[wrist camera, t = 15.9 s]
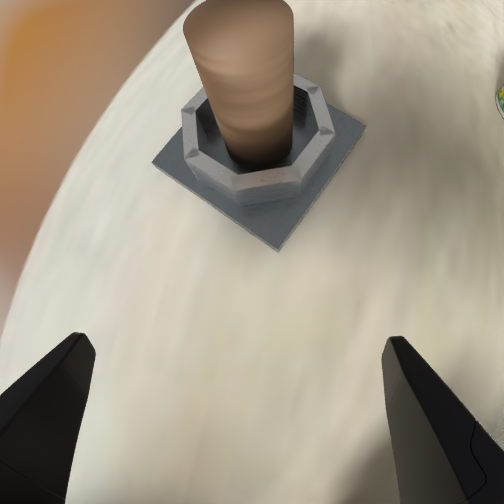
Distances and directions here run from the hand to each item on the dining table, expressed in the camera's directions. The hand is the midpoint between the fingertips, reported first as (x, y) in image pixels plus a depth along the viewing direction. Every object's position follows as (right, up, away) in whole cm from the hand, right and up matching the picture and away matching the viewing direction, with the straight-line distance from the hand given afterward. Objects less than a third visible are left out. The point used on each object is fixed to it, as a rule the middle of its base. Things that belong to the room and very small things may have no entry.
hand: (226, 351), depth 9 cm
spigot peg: (+1, +11, +15) cm, 18 cm away
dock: (+1, +11, +16) cm, 19 cm away
